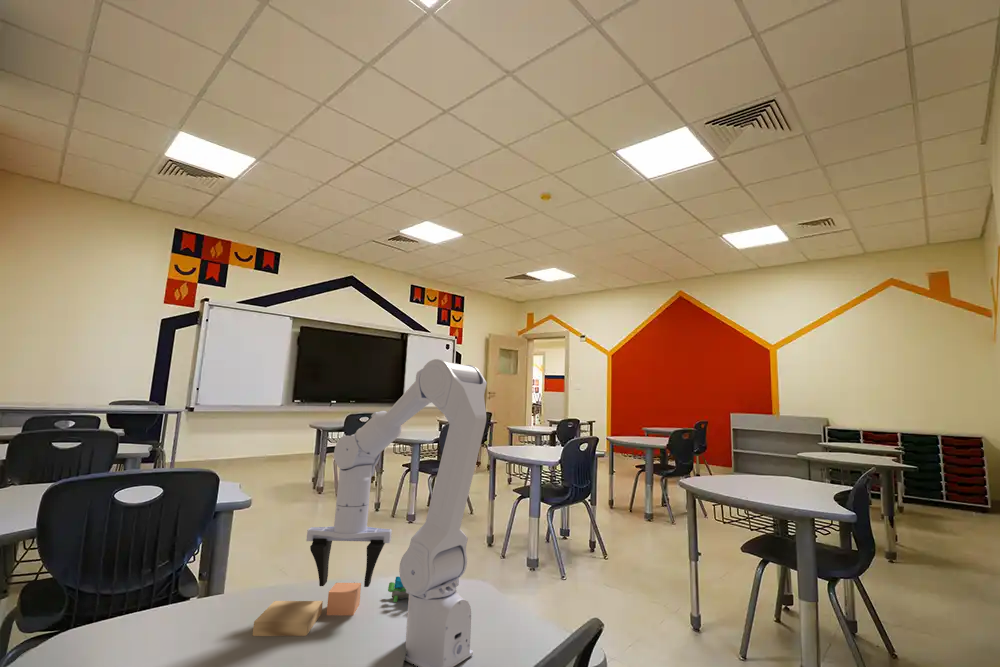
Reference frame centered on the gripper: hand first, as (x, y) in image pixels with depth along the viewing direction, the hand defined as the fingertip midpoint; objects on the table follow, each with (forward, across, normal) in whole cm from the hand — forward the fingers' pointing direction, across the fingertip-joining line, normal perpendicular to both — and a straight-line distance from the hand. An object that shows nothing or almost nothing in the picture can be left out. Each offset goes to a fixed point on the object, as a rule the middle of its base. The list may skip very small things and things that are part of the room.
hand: (345, 584), depth 81 cm
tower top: (+4, +7, +6) cm, 10 cm away
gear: (+6, -12, -5) cm, 14 cm away
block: (+5, 0, 0) cm, 5 cm away
